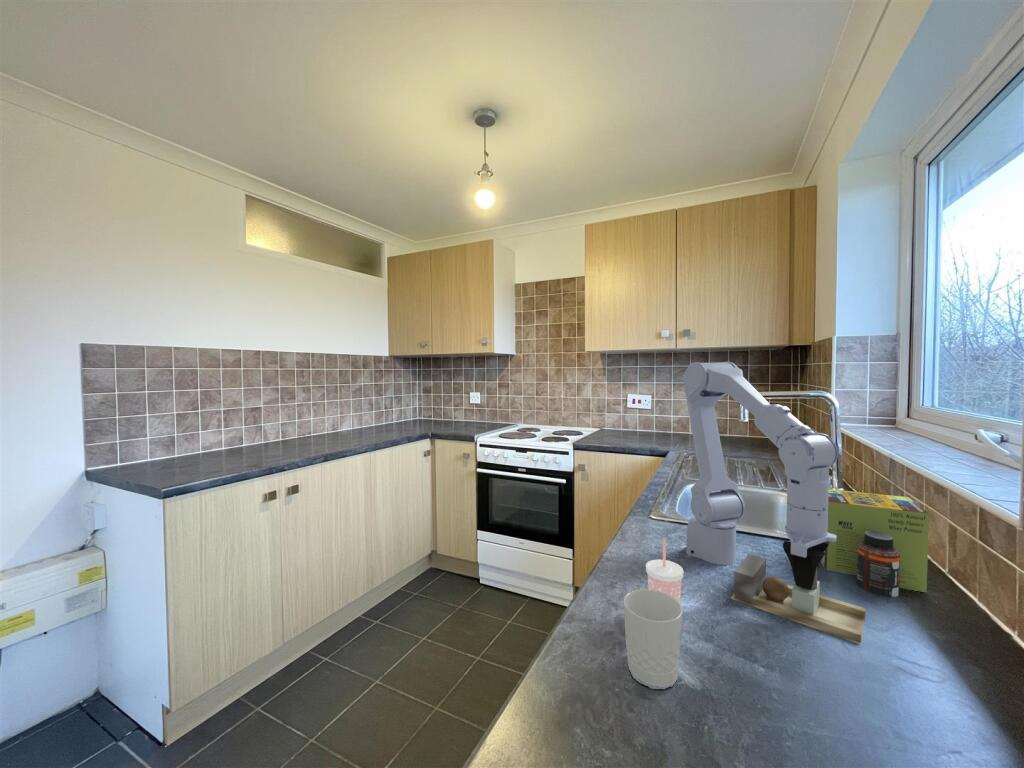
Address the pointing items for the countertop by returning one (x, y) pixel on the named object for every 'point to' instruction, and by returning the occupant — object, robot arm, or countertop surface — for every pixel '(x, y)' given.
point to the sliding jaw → (806, 597)
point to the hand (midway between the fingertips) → (805, 582)
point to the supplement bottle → (878, 565)
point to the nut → (775, 589)
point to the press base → (828, 616)
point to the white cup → (653, 636)
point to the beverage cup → (665, 576)
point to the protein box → (883, 515)
